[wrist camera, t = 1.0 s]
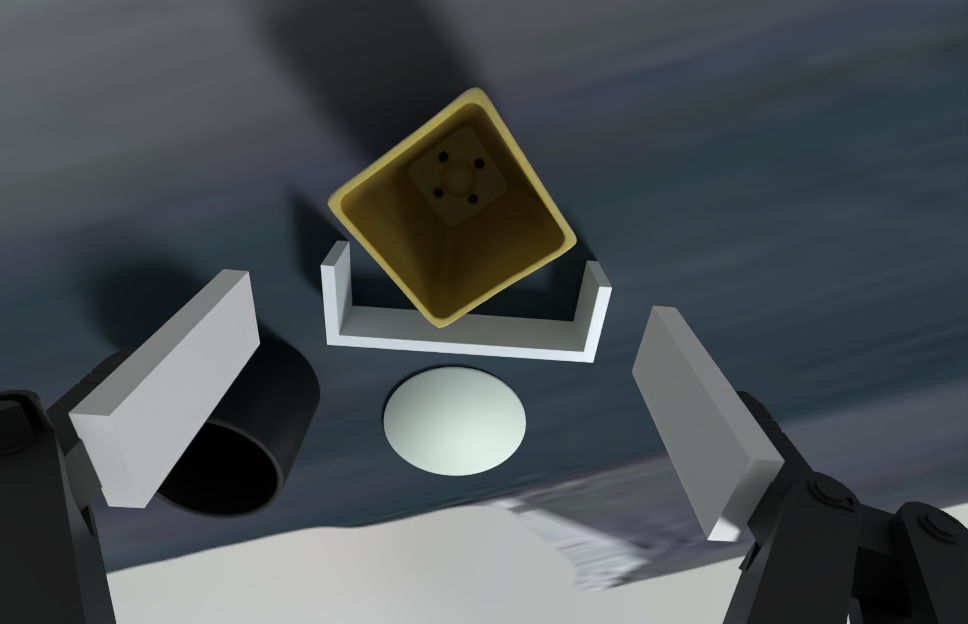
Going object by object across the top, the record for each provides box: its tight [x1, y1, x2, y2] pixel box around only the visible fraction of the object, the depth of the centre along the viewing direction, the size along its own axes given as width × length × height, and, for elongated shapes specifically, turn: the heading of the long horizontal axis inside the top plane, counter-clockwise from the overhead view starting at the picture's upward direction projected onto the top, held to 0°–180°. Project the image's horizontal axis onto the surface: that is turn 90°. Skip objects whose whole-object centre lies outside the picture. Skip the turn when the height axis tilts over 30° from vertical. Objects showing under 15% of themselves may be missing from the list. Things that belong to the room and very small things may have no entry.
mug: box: [154, 337, 320, 519], centre depth 35 cm, size 9×12×9 cm
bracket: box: [321, 241, 612, 362], centre depth 33 cm, size 18×6×4 cm, turn 85°
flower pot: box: [328, 88, 577, 328], centre depth 27 cm, size 9×9×9 cm
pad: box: [384, 367, 526, 475], centre depth 41 cm, size 12×12×1 cm
